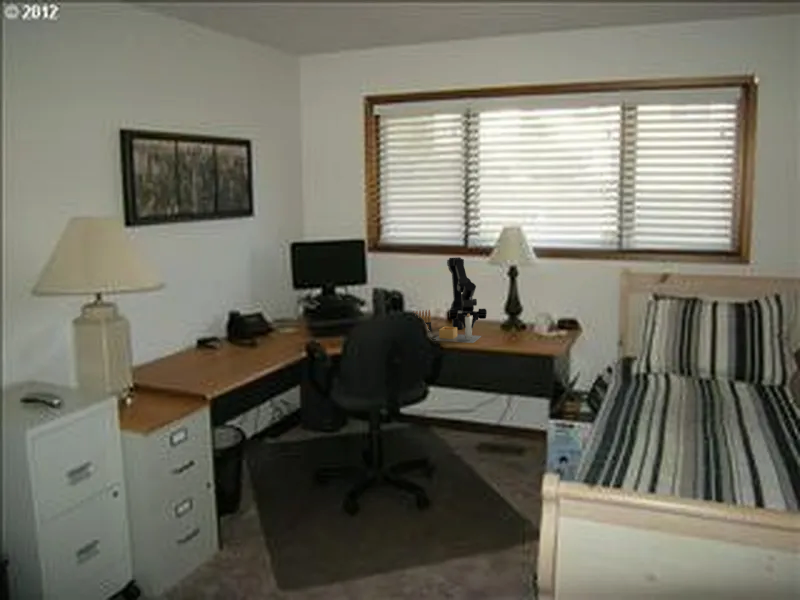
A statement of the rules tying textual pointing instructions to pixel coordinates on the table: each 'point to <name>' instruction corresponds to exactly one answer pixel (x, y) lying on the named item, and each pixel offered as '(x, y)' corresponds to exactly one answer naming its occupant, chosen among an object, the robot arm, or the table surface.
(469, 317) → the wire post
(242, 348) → the table surface
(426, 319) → the ammunition clip
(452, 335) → the plate
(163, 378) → the table surface
